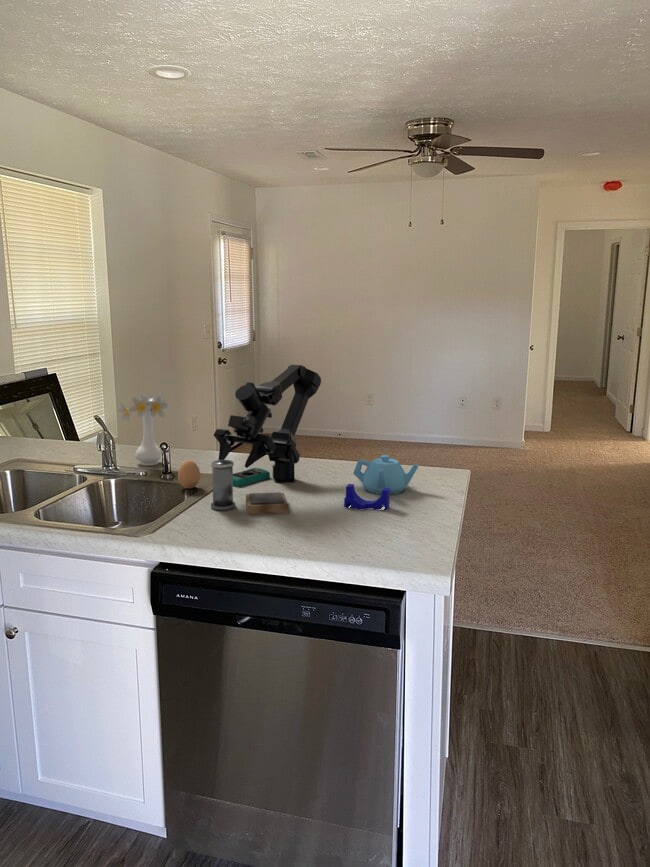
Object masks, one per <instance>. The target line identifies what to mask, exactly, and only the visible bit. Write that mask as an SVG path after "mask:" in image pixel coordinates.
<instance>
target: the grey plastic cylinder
mask: <svg viewBox="0 0 650 867" xmlns="http://www.w3.org/2000/svg"><path fill="white" fill-rule="evenodd" d="M234 464H235V462H234V461H233V460H230V459H224V460H218V459H217V460H213V461H211V462H210V466H211V467H212V468H211V470H212V473H211V474H212V502H211V503H210V509H211V510H212V511H215V512H229V511H232V510H235V508H236V502H235V501H234V486H233V474H234V469H233V467H234V466H235V465H234Z"/></svg>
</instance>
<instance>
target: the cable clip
mask: <svg viewBox="0 0 650 867" xmlns="http://www.w3.org/2000/svg"><path fill="white" fill-rule="evenodd" d="M390 495H391V494H390V488H386V487H384V489H383V490H382V494H380V496H379V497H378V498H377V499H374V500H366V499H363V498H361V496H359V494H358V493H357V492H356V489H355V484H353V483H348V484H346V486H345V497H344V500H343V501H344V502H343V508H344V507H346V508H345V509H351V508H357V509H356V510H360V509H365V508H366V509H367V508H373V509H372V510H376V509H381V508H382V507H383V506H384V507H385V509H384V510H383V511H385V510H387V509H388V510H389V508H390ZM350 505H351V507H350V508H348V507H349V506H350ZM366 509H365V510H366ZM388 510H387V511H388Z"/></svg>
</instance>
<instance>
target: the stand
mask: <svg viewBox="0 0 650 867" xmlns="http://www.w3.org/2000/svg"><path fill="white" fill-rule="evenodd" d="M245 506H246V513H247V515H249V516H251V515H252V516H253V515H254V516H255V515H256V516H257V515H275V514H277V515H278V514H289V503H288V501H287V498H286V496H285V493H284V492H254V493H253V492H252V493H250V492H249V493H246V494H245Z"/></svg>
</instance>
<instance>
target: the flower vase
mask: <svg viewBox="0 0 650 867" xmlns="http://www.w3.org/2000/svg"><path fill="white" fill-rule="evenodd" d="M155 396H156V393H154V392H153V393H151V394H149V395H147V394H146V393H145V392H141V393H140V394H139V396H138V397H136V396H133V397H132V403H133V404H134V405H132V406H131V407H129V408H128V407H127V406H126V405H124V404H123V402H121V401H119V404H120V406H118V407H117V408H116V409H117V411H118V412H119V413H122V416H121V418H122V421H123V422H125V421H126V420H127V421H128V423H130V422H131V418H130V414H133V413H134V412H137V413H136V414H137V417H138V418H141V417H142V421H143V422H142V423H143V424H142V425H143V434H142V436H143V438H142V442H141V444H140V446H139V447H137V449H136V451H135V453H134V454H135V458H136V460H137V461H139V463H140V465H141V466H144V465H145V466H146V465H151V466H155V465H159V461H160V460H161V459H162V458H163V456H162V454H161V450H162V449H161V447H160V446H159V445H158V444H157V443H156V441H155V438H154V430H153V417H155V416H156V415H158V416H159V417H161V418H165V415H166V414H165V413H164V411H163V410H165V409H168V410H169V411H172V409H171V408H170V407H169V404H168V401H167V399H166V398H163V394H162V392H161V391H159V395H157V396H156V398H155ZM154 398H155V399H154ZM159 447H160V448H159ZM160 449H161V450H160ZM145 466H144V467H145Z"/></svg>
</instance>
